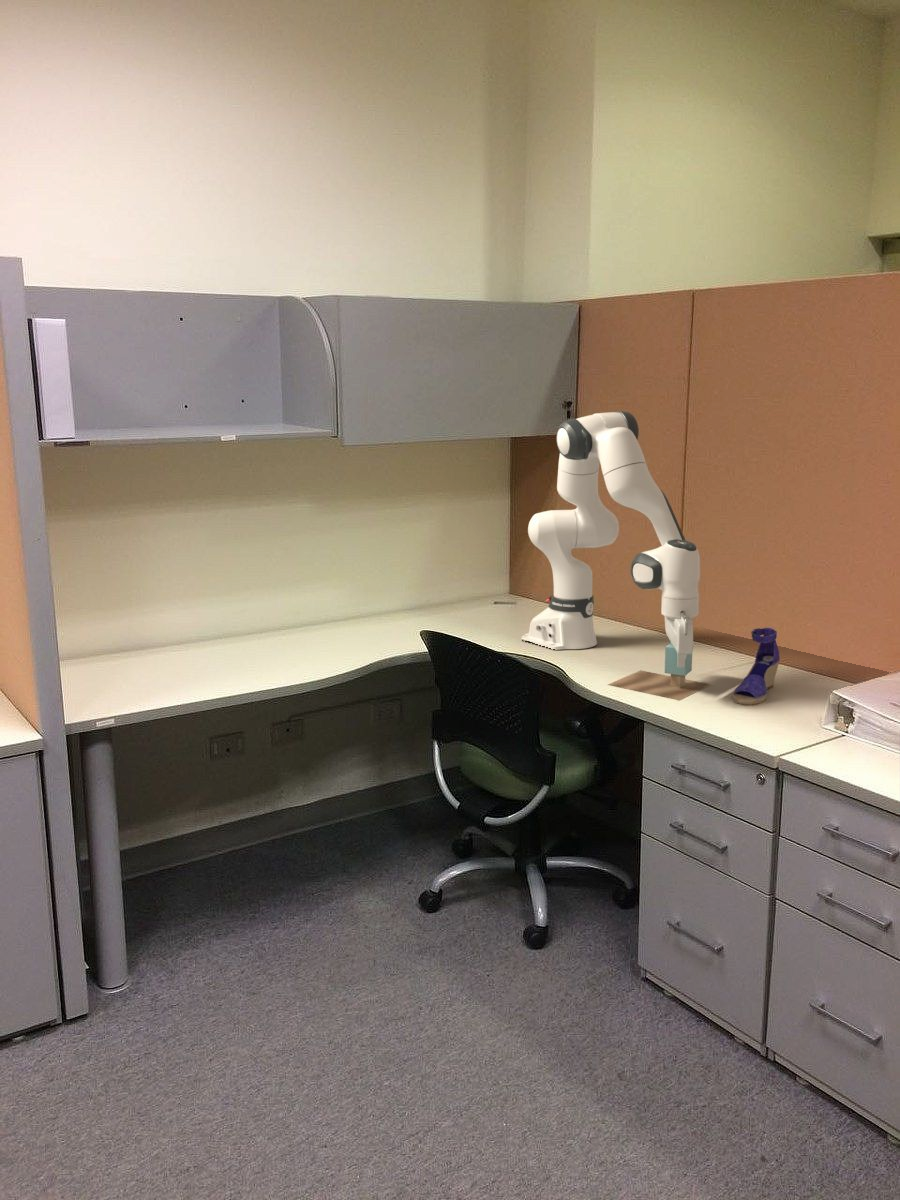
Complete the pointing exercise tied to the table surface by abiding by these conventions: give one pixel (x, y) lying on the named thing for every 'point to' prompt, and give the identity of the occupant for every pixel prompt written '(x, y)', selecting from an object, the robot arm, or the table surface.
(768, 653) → the sandal
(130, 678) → the table surface
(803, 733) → the table surface
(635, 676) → the board
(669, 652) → the teal rectangular block
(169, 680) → the table surface
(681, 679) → the post
